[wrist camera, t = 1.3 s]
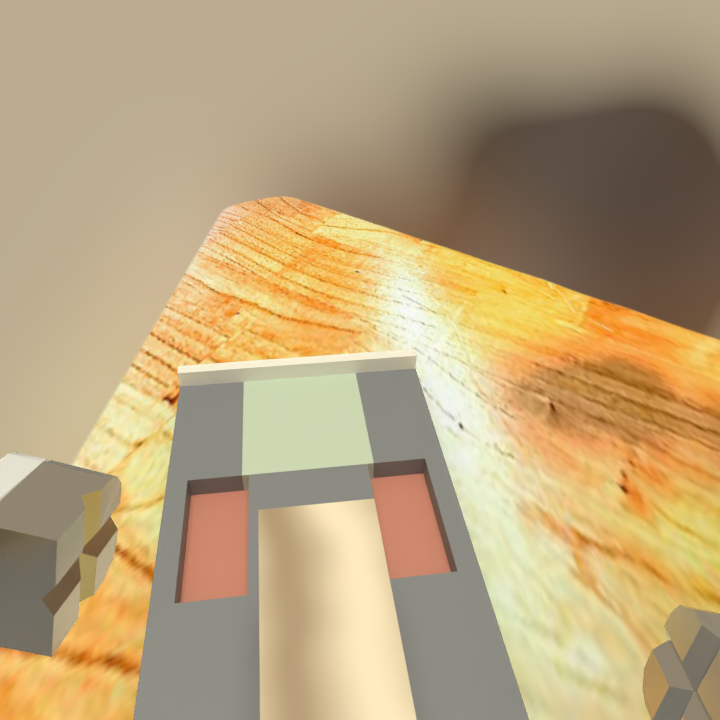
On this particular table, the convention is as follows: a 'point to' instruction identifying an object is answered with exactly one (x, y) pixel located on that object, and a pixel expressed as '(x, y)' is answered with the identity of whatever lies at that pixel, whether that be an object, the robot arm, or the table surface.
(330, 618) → the maple block
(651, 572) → the table surface
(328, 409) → the trap runway
